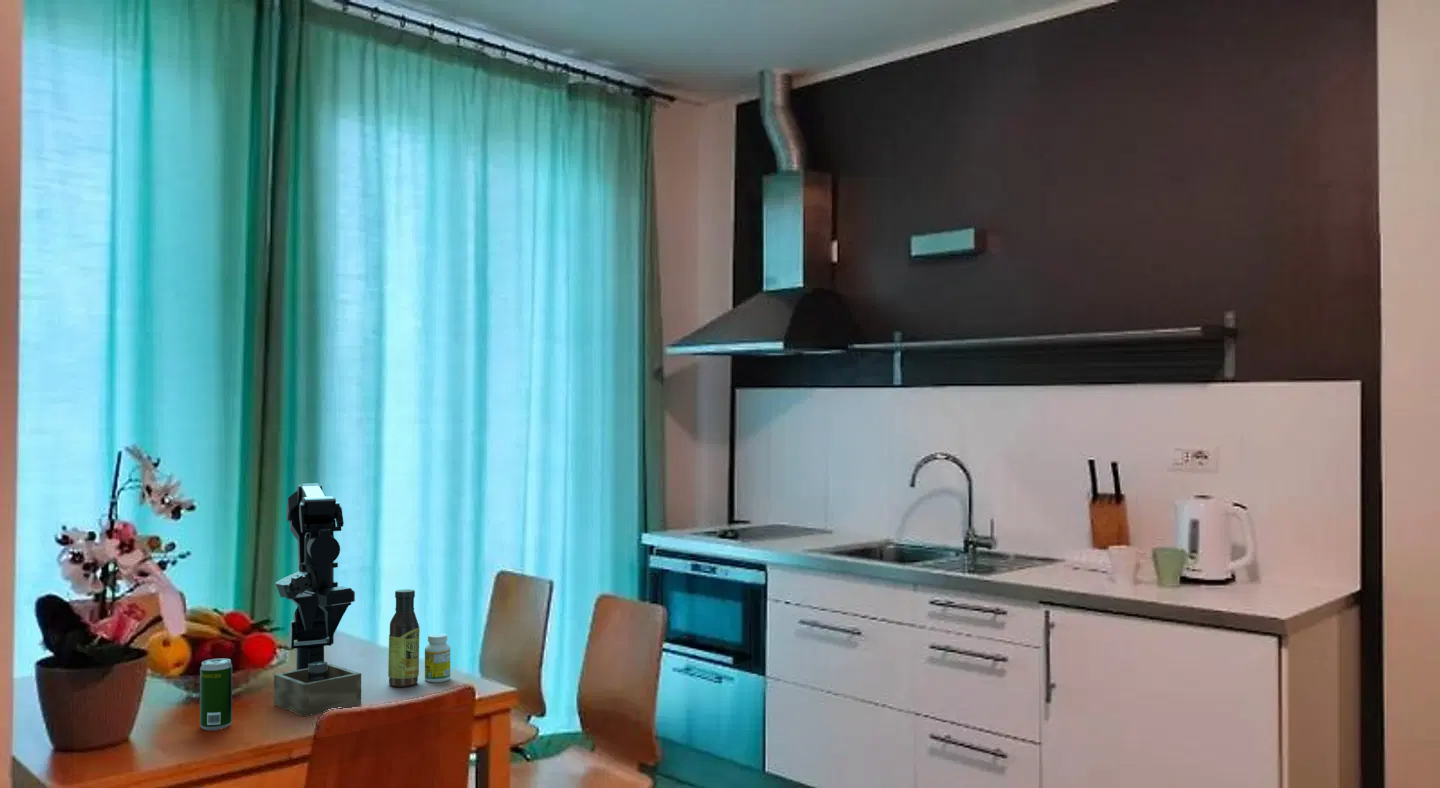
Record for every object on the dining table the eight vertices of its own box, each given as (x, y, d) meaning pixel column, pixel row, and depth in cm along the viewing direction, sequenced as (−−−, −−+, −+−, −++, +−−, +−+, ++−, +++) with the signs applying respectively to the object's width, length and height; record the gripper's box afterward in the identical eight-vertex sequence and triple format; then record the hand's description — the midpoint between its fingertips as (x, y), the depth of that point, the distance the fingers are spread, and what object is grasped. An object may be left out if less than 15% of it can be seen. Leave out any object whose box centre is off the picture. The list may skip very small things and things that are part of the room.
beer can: (232, 728, 202) (232, 663, 202) (200, 732, 200) (200, 666, 200) (231, 720, 207) (231, 657, 207) (199, 724, 205) (200, 659, 205)
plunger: (284, 698, 218) (284, 664, 218) (327, 689, 225) (327, 656, 225) (307, 707, 212) (307, 671, 212) (351, 697, 219) (351, 663, 219)
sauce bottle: (410, 688, 230) (410, 593, 230) (382, 687, 231) (382, 592, 231) (424, 681, 236) (424, 588, 236) (397, 679, 238) (398, 587, 238)
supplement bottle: (452, 681, 236) (452, 636, 236) (426, 683, 234) (426, 638, 234) (448, 675, 241) (448, 631, 241) (423, 677, 239) (423, 633, 239)
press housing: (274, 704, 218) (274, 674, 218) (330, 692, 227) (330, 663, 227) (303, 716, 210) (304, 685, 210) (361, 703, 219) (361, 673, 219)
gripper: (260, 557, 228) (259, 633, 228) (304, 566, 216) (304, 646, 216) (310, 552, 237) (310, 624, 236) (356, 560, 224) (356, 637, 224)
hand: (318, 633), depth 228 cm, fingers open, 9 cm apart
